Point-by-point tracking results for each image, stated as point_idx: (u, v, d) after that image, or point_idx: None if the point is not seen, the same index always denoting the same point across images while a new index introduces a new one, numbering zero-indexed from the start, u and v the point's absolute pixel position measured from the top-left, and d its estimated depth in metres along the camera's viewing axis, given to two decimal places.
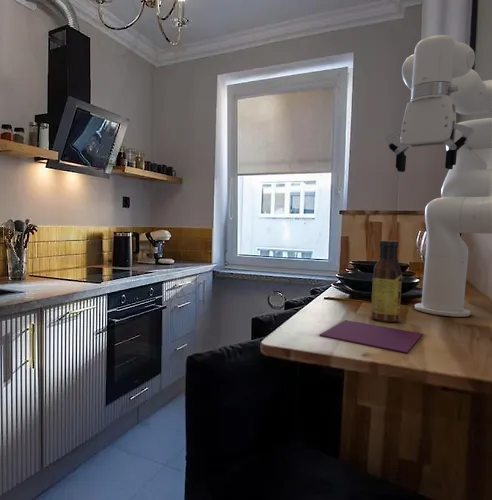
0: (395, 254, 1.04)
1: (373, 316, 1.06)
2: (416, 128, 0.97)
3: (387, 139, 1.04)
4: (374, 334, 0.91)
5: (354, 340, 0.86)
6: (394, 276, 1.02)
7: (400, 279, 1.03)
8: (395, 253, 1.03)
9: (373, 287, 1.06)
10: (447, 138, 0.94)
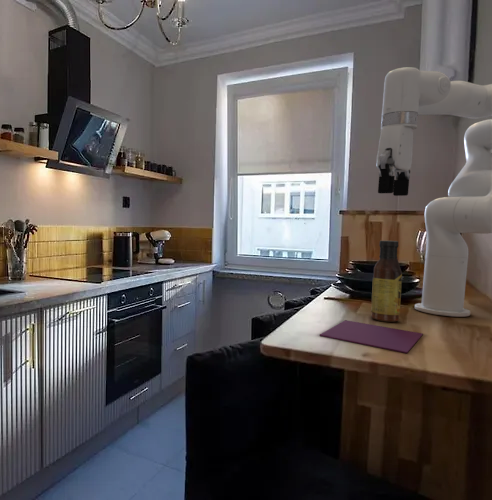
0: (395, 254, 1.04)
1: (373, 316, 1.06)
2: (405, 153, 1.00)
3: (385, 157, 0.97)
4: (374, 334, 0.91)
5: (354, 340, 0.86)
6: (394, 276, 1.02)
7: (400, 279, 1.03)
8: (395, 253, 1.03)
9: (373, 287, 1.06)
10: None
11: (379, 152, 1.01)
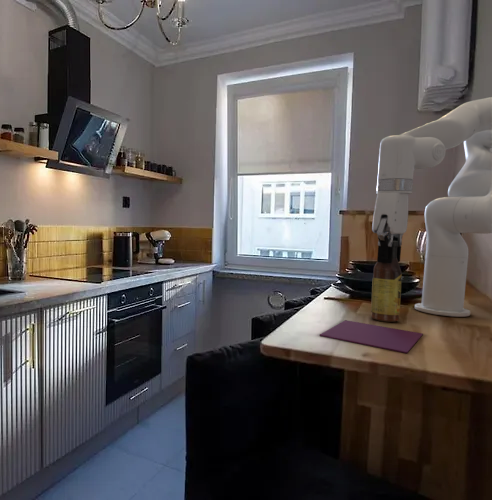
0: (395, 254, 1.03)
1: (373, 316, 1.06)
2: (400, 219, 1.01)
3: (383, 233, 1.00)
4: (374, 334, 0.91)
5: (354, 340, 0.86)
6: (394, 276, 1.02)
7: (400, 279, 1.03)
8: (395, 253, 1.03)
9: (373, 287, 1.06)
10: None
11: (375, 217, 1.02)
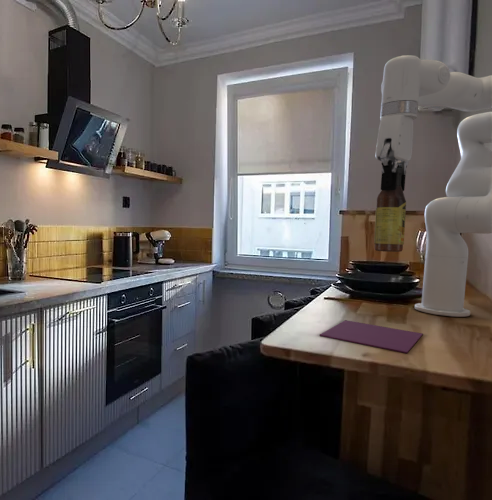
0: (399, 181, 1.00)
1: (376, 247, 1.02)
2: (404, 143, 0.98)
3: (386, 157, 0.96)
4: (374, 334, 0.91)
5: (354, 340, 0.86)
6: (398, 204, 0.99)
7: (404, 207, 0.99)
8: (399, 180, 1.00)
9: (376, 217, 1.02)
10: None
11: (378, 142, 0.99)
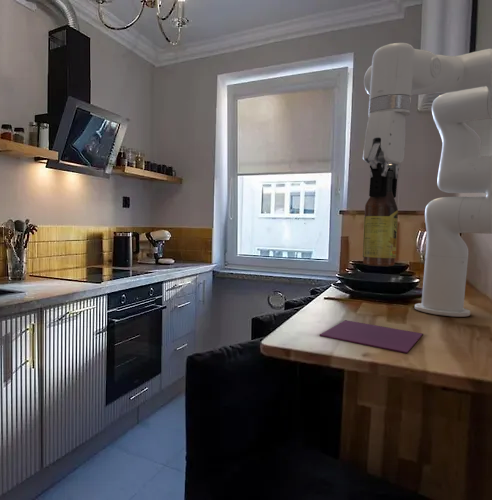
0: (390, 187, 0.88)
1: (365, 261, 0.90)
2: (396, 143, 0.86)
3: (375, 159, 0.84)
4: (374, 334, 0.91)
5: (354, 340, 0.86)
6: (389, 212, 0.87)
7: (396, 216, 0.87)
8: (390, 185, 0.88)
9: (364, 227, 0.90)
10: None
11: (366, 143, 0.87)
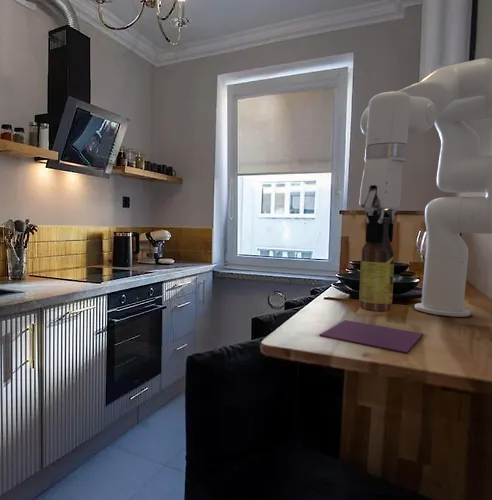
0: (386, 233, 0.88)
1: (361, 306, 0.91)
2: (392, 191, 0.86)
3: (371, 207, 0.84)
4: (374, 334, 0.91)
5: (354, 340, 0.86)
6: (385, 258, 0.87)
7: (392, 262, 0.88)
8: (386, 231, 0.88)
9: (361, 272, 0.91)
10: None
11: (362, 189, 0.87)
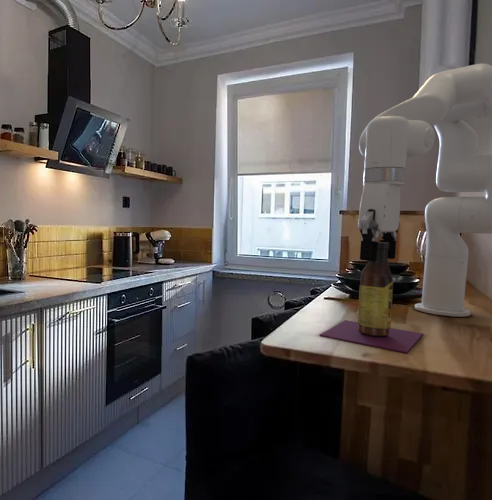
0: (385, 258, 0.89)
1: (360, 329, 0.91)
2: (390, 214, 0.86)
3: (367, 222, 0.84)
4: None
5: (354, 340, 0.86)
6: (384, 283, 0.88)
7: (391, 287, 0.89)
8: (385, 256, 0.89)
9: (360, 296, 0.92)
10: None
11: (361, 213, 0.88)
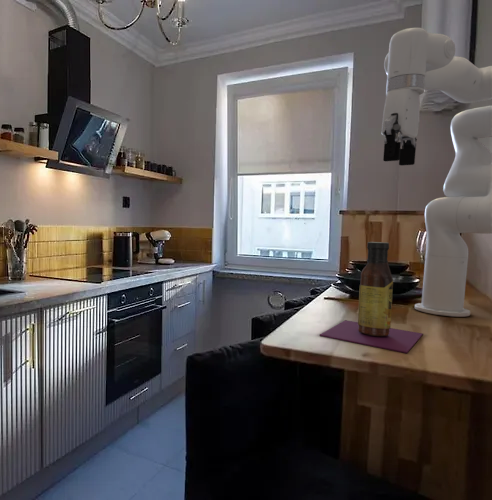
0: (385, 258, 0.89)
1: (360, 329, 0.91)
2: (411, 118, 0.95)
3: (391, 122, 0.92)
4: None
5: (354, 340, 0.86)
6: (384, 283, 0.88)
7: (391, 287, 0.89)
8: (385, 256, 0.89)
9: (360, 296, 0.92)
10: None
11: (384, 118, 0.96)
